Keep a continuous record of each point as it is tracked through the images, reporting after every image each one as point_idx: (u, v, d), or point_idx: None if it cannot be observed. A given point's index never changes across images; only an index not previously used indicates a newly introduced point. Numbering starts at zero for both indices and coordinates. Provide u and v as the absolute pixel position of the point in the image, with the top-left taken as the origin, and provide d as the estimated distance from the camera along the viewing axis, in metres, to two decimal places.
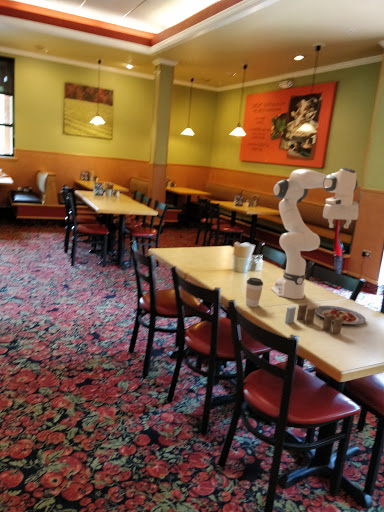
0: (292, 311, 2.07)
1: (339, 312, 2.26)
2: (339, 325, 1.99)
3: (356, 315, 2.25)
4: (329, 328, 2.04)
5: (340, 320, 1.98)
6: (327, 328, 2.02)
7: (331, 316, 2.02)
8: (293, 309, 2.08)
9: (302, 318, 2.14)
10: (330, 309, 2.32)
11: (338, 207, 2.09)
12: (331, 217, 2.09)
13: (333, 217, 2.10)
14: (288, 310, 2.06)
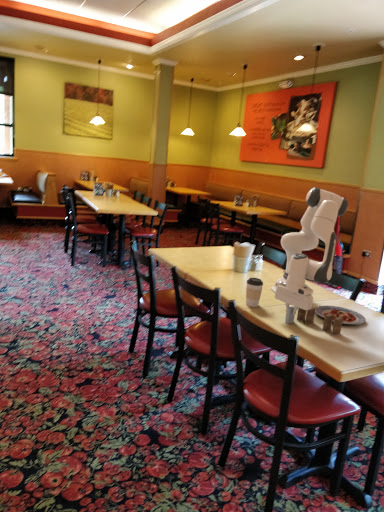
0: None
1: (339, 312, 2.26)
2: (339, 325, 1.99)
3: (356, 315, 2.25)
4: (329, 328, 2.04)
5: (340, 320, 1.98)
6: (327, 328, 2.02)
7: (331, 316, 2.02)
8: (293, 309, 2.07)
9: (302, 318, 2.14)
10: (330, 309, 2.32)
11: None
12: None
13: None
14: (288, 310, 2.06)
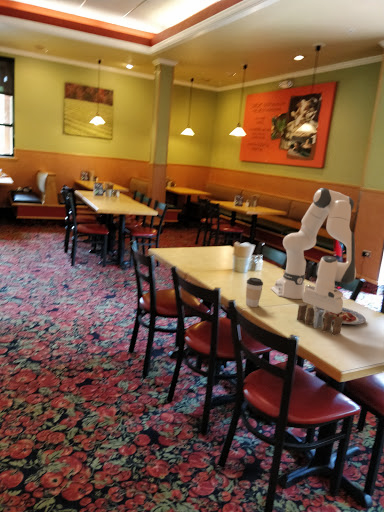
0: None
1: None
2: (339, 325, 1.99)
3: (356, 315, 2.25)
4: (329, 328, 2.04)
5: (340, 320, 1.98)
6: (327, 328, 2.02)
7: (331, 316, 2.02)
8: None
9: (302, 318, 2.14)
10: None
11: None
12: None
13: None
14: (317, 314, 2.04)
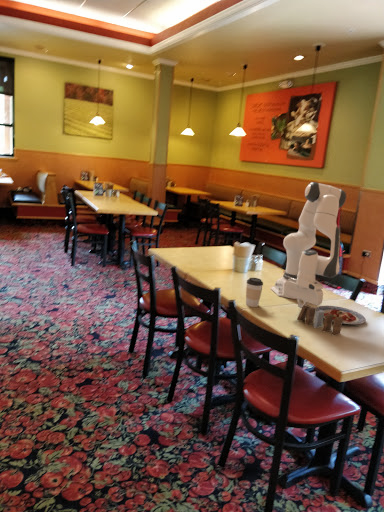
0: (321, 315, 2.05)
1: (339, 312, 2.26)
2: (339, 325, 1.99)
3: (356, 315, 2.25)
4: (329, 328, 2.04)
5: (340, 320, 1.98)
6: (327, 328, 2.02)
7: (331, 316, 2.02)
8: (322, 313, 2.06)
9: (302, 318, 2.14)
10: (330, 309, 2.32)
11: None
12: None
13: None
14: (317, 314, 2.04)
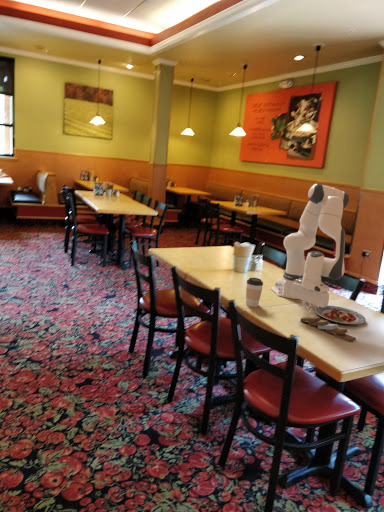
0: None
1: (339, 312, 2.26)
2: None
3: (356, 315, 2.25)
4: None
5: None
6: None
7: None
8: None
9: None
10: (330, 309, 2.32)
11: None
12: None
13: None
14: (330, 328, 1.99)
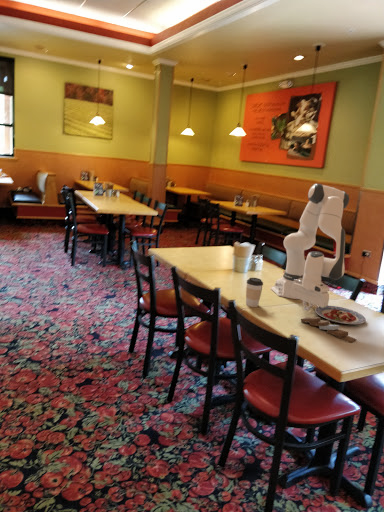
0: None
1: (339, 312, 2.26)
2: None
3: (356, 315, 2.25)
4: None
5: None
6: None
7: None
8: (335, 329, 2.00)
9: None
10: (330, 309, 2.32)
11: None
12: None
13: None
14: (331, 328, 1.99)
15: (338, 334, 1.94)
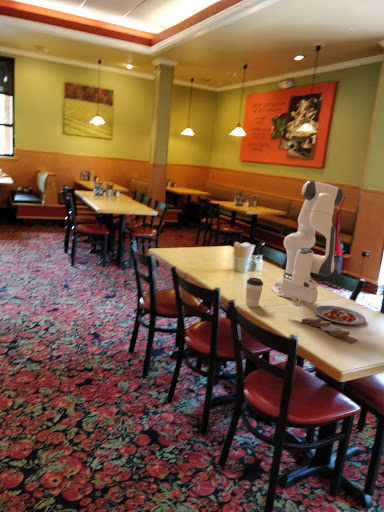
0: None
1: (339, 312, 2.26)
2: None
3: (356, 315, 2.25)
4: None
5: None
6: None
7: (346, 335, 1.93)
8: (337, 330, 1.99)
9: None
10: (330, 309, 2.32)
11: None
12: None
13: None
14: (332, 329, 1.97)
15: (339, 334, 1.93)
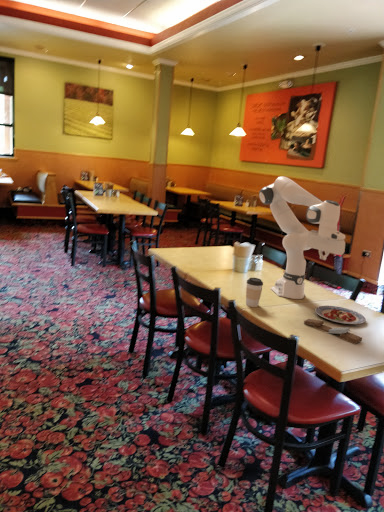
0: None
1: (339, 312, 2.26)
2: None
3: (356, 315, 2.25)
4: None
5: None
6: None
7: None
8: None
9: None
10: (330, 309, 2.32)
11: None
12: None
13: None
14: (342, 331, 1.95)
15: (353, 340, 1.91)
